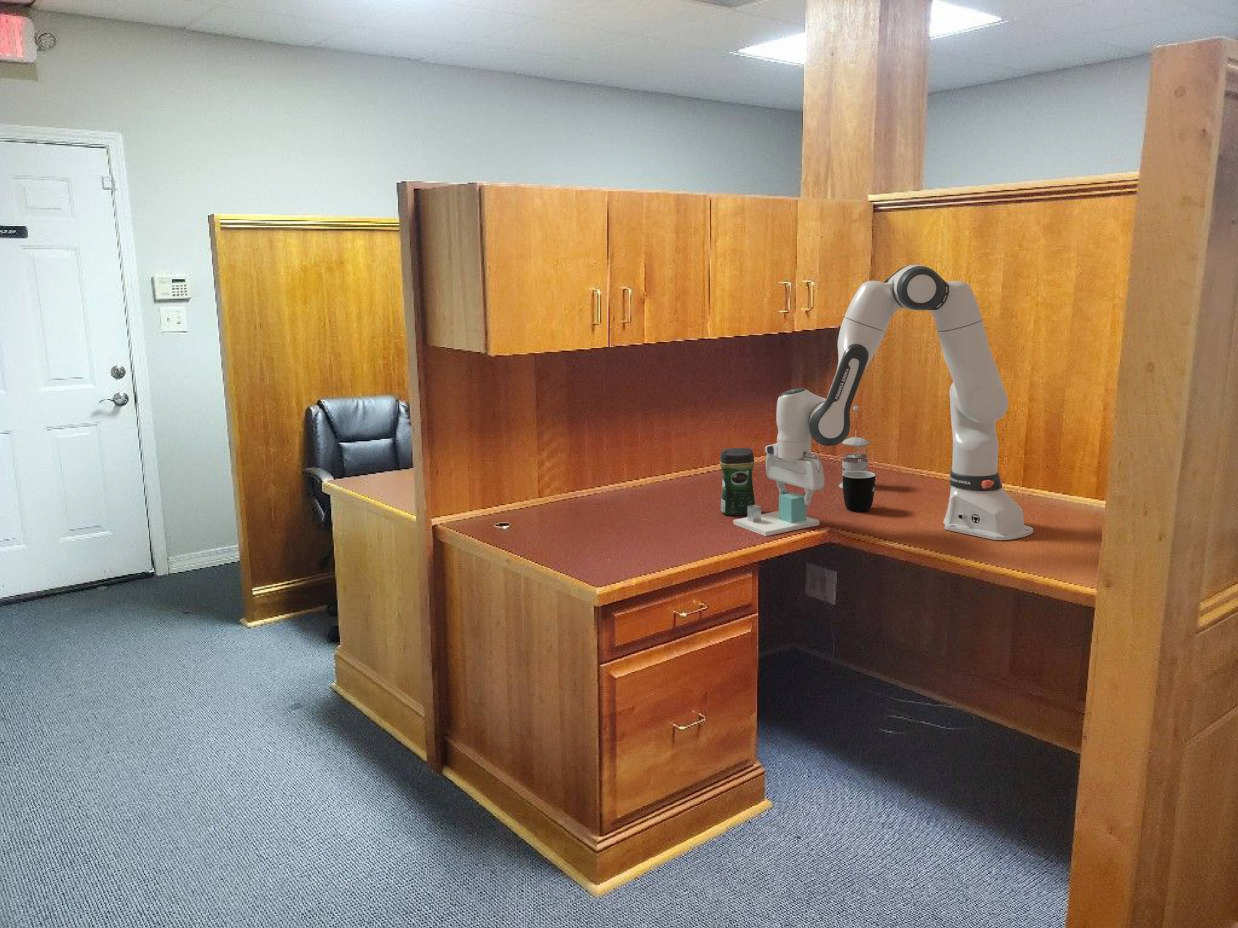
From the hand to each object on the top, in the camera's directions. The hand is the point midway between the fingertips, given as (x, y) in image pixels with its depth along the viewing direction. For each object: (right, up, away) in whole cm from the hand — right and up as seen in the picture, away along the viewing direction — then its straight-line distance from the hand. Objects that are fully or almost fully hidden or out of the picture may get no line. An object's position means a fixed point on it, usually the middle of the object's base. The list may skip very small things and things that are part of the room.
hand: (795, 500), depth 260 cm
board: (-5, -7, +1) cm, 8 cm away
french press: (+26, +3, +41) cm, 48 cm away
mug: (+20, -3, +15) cm, 25 cm away
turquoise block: (0, -5, +1) cm, 5 cm away
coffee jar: (-14, -4, +15) cm, 20 cm away
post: (-11, -5, +1) cm, 12 cm away
